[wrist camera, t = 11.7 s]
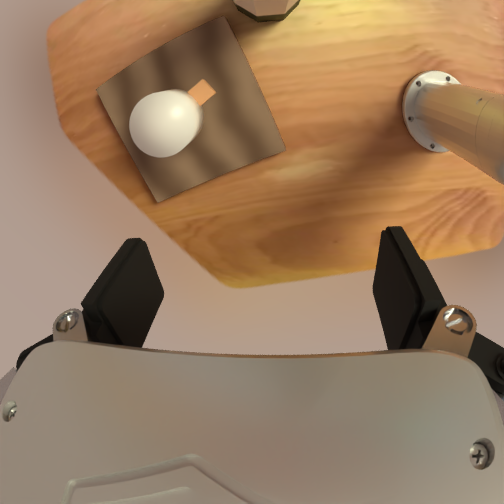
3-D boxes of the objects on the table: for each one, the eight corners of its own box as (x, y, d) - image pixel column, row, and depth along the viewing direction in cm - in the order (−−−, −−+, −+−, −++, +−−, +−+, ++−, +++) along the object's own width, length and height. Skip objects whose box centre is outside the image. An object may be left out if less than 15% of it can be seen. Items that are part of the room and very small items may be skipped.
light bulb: (230, 108, 30) (224, 113, 25) (173, 157, 33) (159, 170, 29) (190, 64, 27) (177, 63, 23) (136, 117, 30) (117, 125, 26)
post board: (226, 18, 28) (218, 8, 23) (285, 146, 38) (287, 158, 33) (102, 87, 33) (80, 92, 28) (162, 197, 43) (148, 215, 38)
